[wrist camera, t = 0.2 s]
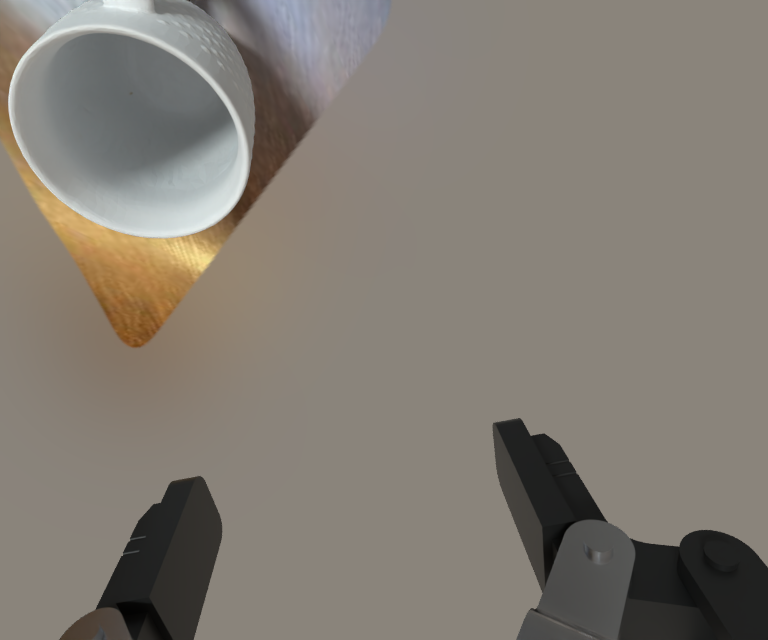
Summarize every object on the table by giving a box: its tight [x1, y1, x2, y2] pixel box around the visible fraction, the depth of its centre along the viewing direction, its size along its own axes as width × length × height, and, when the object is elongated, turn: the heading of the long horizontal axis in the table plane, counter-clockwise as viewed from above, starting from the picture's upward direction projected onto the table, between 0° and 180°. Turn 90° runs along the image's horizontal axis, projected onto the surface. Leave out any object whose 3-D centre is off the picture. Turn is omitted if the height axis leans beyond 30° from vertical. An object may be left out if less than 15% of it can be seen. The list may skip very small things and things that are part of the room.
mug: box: [8, 0, 255, 238], centre depth 28 cm, size 15×11×13 cm
